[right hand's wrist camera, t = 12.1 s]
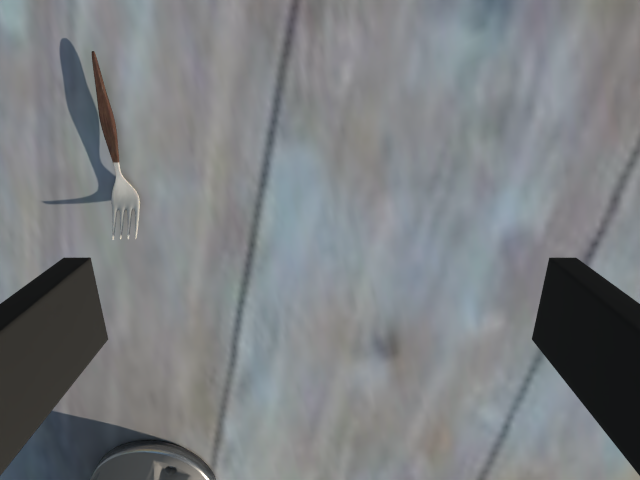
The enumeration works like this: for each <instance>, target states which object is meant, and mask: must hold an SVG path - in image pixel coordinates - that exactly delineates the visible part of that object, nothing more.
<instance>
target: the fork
mask: <svg viewBox="0 0 640 480" xmlns="http://www.w3.org/2000/svg"><path fill="white" fill-rule="evenodd" d="M92 61H93V70H94V77H95V84H96V92H97V101H98V110H99V117H100V122H101V126H102V130H103V133H104V136H105V140H106V143H107V146H108V149H109V152H110V155H111V158H112V161H113V164H114V167H115V171H116V179H115V183H114V186H113V190H112V197H111V200H112V212H113V233H112V240H113V239H114V232H115V224H116V214H117V210H119V211H120V239H121V237H122V229H123V220H124V211H125V210H127V213H128V239H129V233H130V225H131V215H132V210H133V209H134V210H135V239H136V238H137V230H138V220H139V207H140V200H139V196H138V193H137V192H136V190H135V189H134V188H133V187H132V185H131V184H130V183H129V182H128V181H127V180H126V179H125V178H124V177H123V175H122V174H121V171H120V165H119V153H118V141H117V132H116V125H115V120H114V116H113V113H112V109H111V106H110V103H109V100H108V96H107V93H106V90H105V86H104V83H103V79H102V75H101V72H100V68H99V65H98V61H97V58H96V55H95V52H94V51H92Z"/></svg>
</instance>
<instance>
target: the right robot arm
mask: <svg viewBox="0 0 640 480" xmlns="http://www.w3.org/2000/svg"><path fill="white" fill-rule="evenodd" d="M107 340H108V337H107V332H106V327H105V323H104V318H103V313H102V309H101V304H100V299H99V295H98V290H97V285H96V281H95V276H94V271H93V267H92V262H91V258H63V259H61V260H60V261H59V262H57V263H56V264H55V265H53V266H52V267H50V268H49V269H48V270H46V271H45V272H44V273H42V274H41V275H39V276H38V277H37V278H35V279H34V280H33V281H31V282H30V283H29V284H27V285H26V286H24V287H23V288H22V289H20V290H19V291H18V292H16V293H15V294H13V295H12V296H11V297H9V298H8V299H7V300H5V301H4V302H2V303H1V304H0V475H1V474H2V473H3V472H4V470H5V469H6V468H7V466H8V465H9V464H10V463H11V461H12V460H13V459H14V458H15V456H16V455H17V454H18V453H19V451H20V450H21V449H22V447H23V446H24V445H25V444H26V442H27V441H28V440H29V439H30V437H31V436H32V435H33V434H34V432H35V431H36V430H37V429H38V427H39V426H40V425H41V423H42V422H43V421H44V420H45V418H46V417H47V416H48V415H49V413H50V412H51V411H52V410H53V408H54V407H55V406H56V405H57V403H58V402H59V401H60V399H61V398H62V397H63V396H64V394H65V393H66V392H67V391H68V389H69V388H70V387H71V386H72V384H73V383H74V382H75V380H76V379H77V378H78V377H79V375H80V374H81V373H82V372H83V370H84V369H85V368H86V367H87V365H88V364H89V363H90V362H91V360H92V359H93V358H94V356H95V355H96V354H97V353H98V351H99V350H100V349H101V348H102V346H103V345H104V344H105V343H106V341H107ZM532 340H533V341H534V343H535V344H536V345H537V346H538V348H539V349H540V350H541V351H542V353H543V354H544V355H545V356H546V358H547V359H548V360H549V362H550V363H551V364H552V365H553V367H554V368H555V369H556V370H557V372H558V373H559V374H560V375H561V377H562V378H563V379H564V380H565V382H566V383H567V384H568V386H569V387H570V388H571V389H572V391H573V392H574V393H575V394H576V396H577V397H578V398H579V399H580V401H581V402H582V403H583V405H584V406H585V407H586V408H587V410H588V411H589V412H590V413H591V415H592V416H593V417H594V418H595V420H596V421H597V422H598V423H599V425H600V426H601V427H602V429H603V430H604V431H605V432H606V434H607V435H608V436H609V437H610V439H611V440H612V441H613V442H614V444H615V445H616V446H617V447H618V449H619V450H620V451H621V453H622V454H623V455H624V456H625V458H626V459H627V460H628V461H629V463H630V464H631V465H632V466H633V468H634V469H635V470H636V472H637V473H638V474H639V475H640V304H639V303H638V302H636V301H635V300H633V299H632V298H631V297H629V296H628V295H627V294H625V293H624V292H622V291H621V290H620V289H618V288H617V287H616V286H614V285H613V284H611V283H610V282H609V281H607V280H606V279H605V278H603V277H602V276H601V275H599V274H598V273H596V272H595V271H594V270H592V269H591V268H590V267H588V266H587V265H585V264H584V263H583V262H581V261H580V260H579V259H577V258H549V262H548V267H547V271H546V276H545V281H544V285H543V290H542V295H541V299H540V304H539V309H538V313H537V318H536V323H535V327H534V332H533V337H532ZM90 480H216V479H215V476H214V474H213V472H212V471H211V469H210V468H209V467H208V465H207V464H206V463H205V462H204V461H203V460H202V459H200V458H199V457H198V456H197V455H195V454H194V453H192V452H190V451H188V450H187V449H184V448H182V447H180V446H177V445H174V444H170V443H166V442H161V441H135V442H130V443H126V444H123V445H121V446H118V447H116V448H114V449H113V450H111V451H110V452H108V453H107V454H106V455H105V456H104V457H103V458H102V459H101V461H100V462H99V464H98V466H97V468H96V469H95V471H94V473H93V475H92V477H91V479H90Z"/></svg>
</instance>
